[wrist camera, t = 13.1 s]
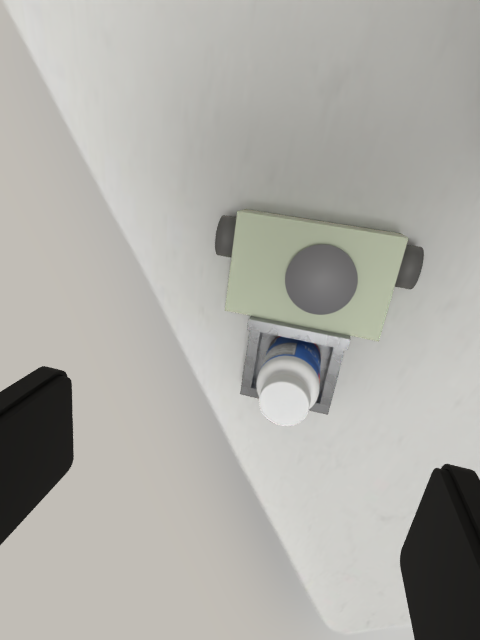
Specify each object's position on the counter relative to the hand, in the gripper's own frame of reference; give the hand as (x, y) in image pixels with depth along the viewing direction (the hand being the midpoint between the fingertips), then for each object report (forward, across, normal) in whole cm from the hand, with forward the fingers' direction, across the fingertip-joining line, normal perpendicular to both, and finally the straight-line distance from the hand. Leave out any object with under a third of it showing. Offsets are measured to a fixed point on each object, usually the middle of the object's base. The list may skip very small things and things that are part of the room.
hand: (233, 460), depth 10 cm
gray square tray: (+28, -1, +10) cm, 30 cm away
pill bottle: (+28, -1, +9) cm, 30 cm away
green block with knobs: (+28, -1, 0) cm, 28 cm away
